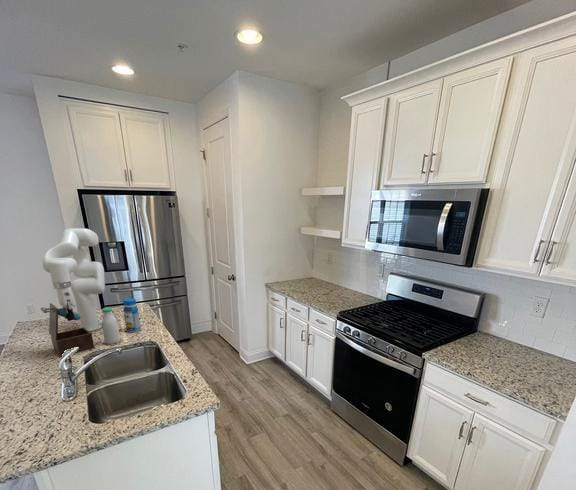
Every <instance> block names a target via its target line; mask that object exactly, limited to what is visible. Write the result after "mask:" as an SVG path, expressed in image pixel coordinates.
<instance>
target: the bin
mask: <svg viewBox="0 0 576 490" xmlns="http://www.w3.org/2000/svg"><path fill="white" fill-rule="evenodd" d="M50 339H51V343H52V347H53V351H55V353H56V354H57V356H59V357H60V358H63V357H62V354H63V353H64V351H65V350H67V349H71V348H74V347H79V350H78V351H77V352H75V353H74V354H78V353H81V352H85V351H89V350H92V349H95V344H94V338H93V333H92V331H88V330H87V329H85V328H84V327H82V328H79V327H78V328H74V329H70V330H63V331H60V332H58V340H57V341H56V340H55V339H54V338H53V337H52V336H51V335H50Z"/></svg>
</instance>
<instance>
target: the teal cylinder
mask: <svg viewBox="0 0 576 490" xmlns="http://www.w3.org/2000/svg"><path fill="white" fill-rule="evenodd" d="M73 312H74V317H75V320H74V321H80V320H79V319H80V318H81V316H80V314H78V312H75V311H73ZM58 317H63V318H65V317H66V318H67V316H66V309H63V307H59V308H58Z"/></svg>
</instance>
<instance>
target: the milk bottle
mask: <svg viewBox="0 0 576 490" xmlns="http://www.w3.org/2000/svg"><path fill="white" fill-rule="evenodd" d="M102 314H103V316H102V319H101V320H102V324H101V325H102V327H101V328H102V333H103V338H104V339H103V340H104V343H105V344H107V345H113V344H117V343H119V342H120V341H121V335H120V329H119V324H118V321H117V318H115V316H114V314H113V309H112V307H103V308H102Z"/></svg>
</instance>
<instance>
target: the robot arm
mask: <svg viewBox="0 0 576 490" xmlns="http://www.w3.org/2000/svg"><path fill="white" fill-rule="evenodd" d="M99 243H100V242H99V236H98V234H97V233H96V232H95V231H93V230H92V229H89V228H86V227H85V228H79V227H74V228H73V227H72V228H65V229H64V230H63V231H62V233H61V236H60V241H59V243H58V244H57V245H54V246H53V247H51V248H50V249H48V250H47V251H46V252H45V254H44V256H43V260H42V268H43V269H44V271H45V272H47V273H50V278H51V282H52V286H53V287H52V288H53V290H56V295H57V299H58V303H59V305H60V306H61V308H63V309H66V316H67V318H66V317H64V320H67V321H68V322H71V321H75V317H74V312H75V311H74V309H73V308H74V307H76V310H77V313H78V314H80V316H81V318H80V319H79V320H78V321H79V324H80V326H79V327H78V328H82V327H84V328H85V329H87V330H88V331H89V332H95V331H97V330H99V329H101V328H102V319H100V320H99V319H98V315H97V308H96V303H95V300H94V299H93V297H92V296H91V295H101V294H104V293H105V291H106V282H105V268H104V266H103V264H102V263H101V261H100V262H99V261H90V255H89V253H88V252H87V250H85V249H84V248H83V247H96V246H98V244H99ZM71 256H72V257H71ZM71 273H73V275H74V276H75V277H76V279H73V280H71V277H70V274H71Z"/></svg>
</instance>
